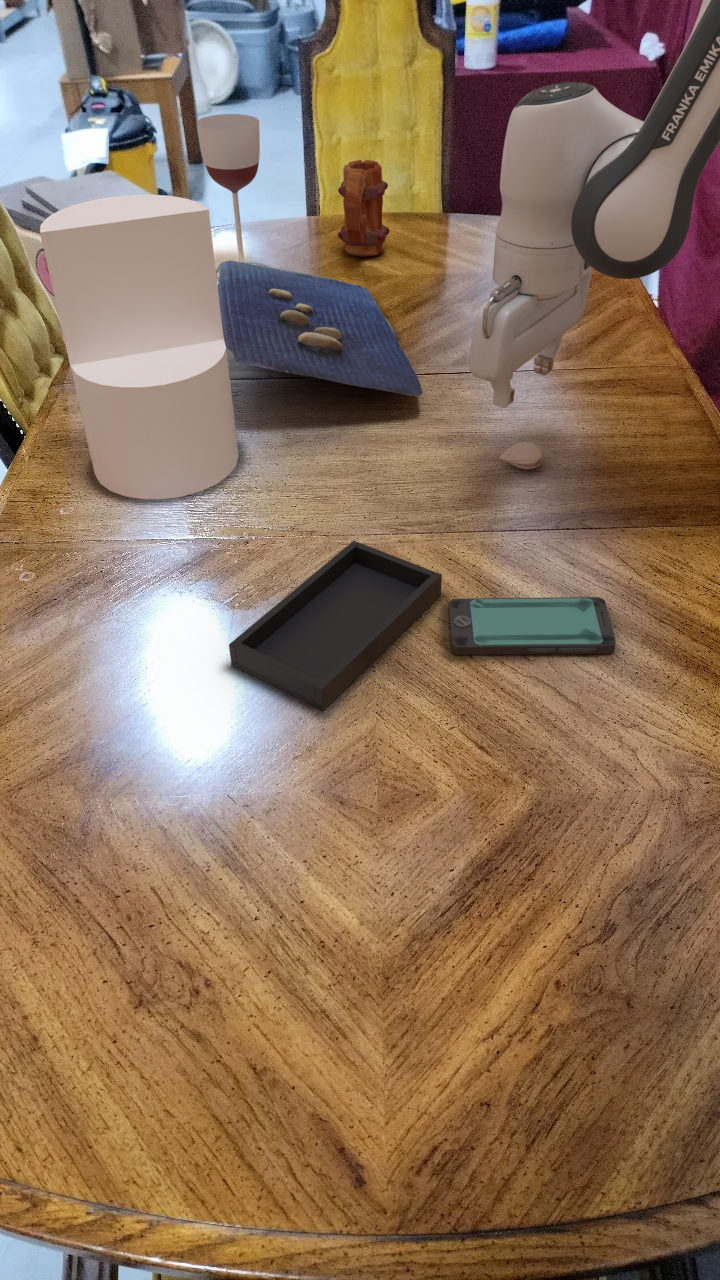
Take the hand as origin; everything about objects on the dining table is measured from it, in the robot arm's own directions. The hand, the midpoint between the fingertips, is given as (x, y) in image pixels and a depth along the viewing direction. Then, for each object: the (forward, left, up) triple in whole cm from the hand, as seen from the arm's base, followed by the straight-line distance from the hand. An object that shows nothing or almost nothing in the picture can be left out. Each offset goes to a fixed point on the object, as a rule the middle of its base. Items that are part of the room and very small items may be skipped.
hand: (523, 387), depth 110 cm
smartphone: (-15, +26, -10) cm, 32 cm away
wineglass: (+68, -30, -10) cm, 75 cm away
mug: (+55, -46, -10) cm, 72 cm away
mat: (+40, -11, -10) cm, 43 cm away
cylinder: (+36, +22, -10) cm, 43 cm away
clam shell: (0, 0, -10) cm, 10 cm away
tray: (0, +36, -10) cm, 37 cm away
